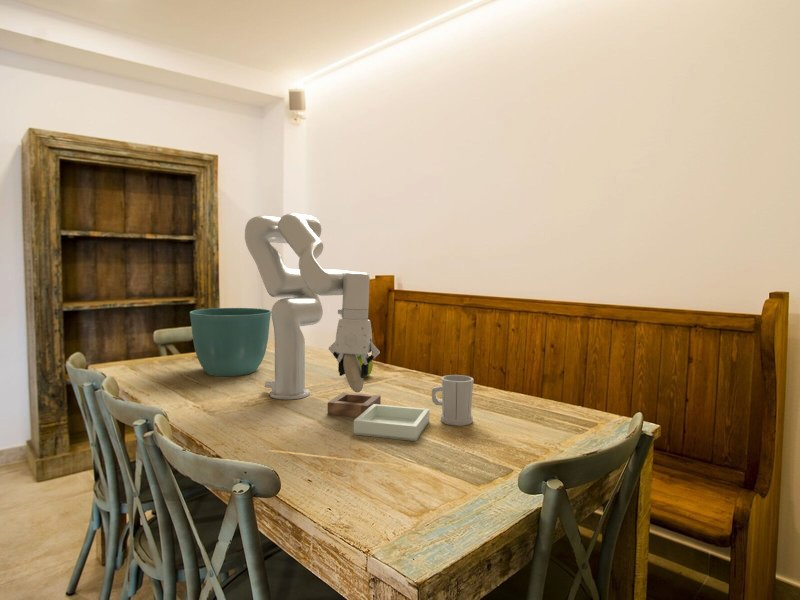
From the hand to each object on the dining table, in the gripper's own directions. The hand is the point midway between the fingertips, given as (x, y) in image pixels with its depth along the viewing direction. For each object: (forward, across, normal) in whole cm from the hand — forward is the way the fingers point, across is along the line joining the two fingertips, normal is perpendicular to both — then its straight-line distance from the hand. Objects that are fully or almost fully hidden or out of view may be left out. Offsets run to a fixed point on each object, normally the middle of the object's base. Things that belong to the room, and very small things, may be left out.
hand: (353, 375), depth 146 cm
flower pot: (+13, -63, +35) cm, 73 cm away
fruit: (+11, -12, +42) cm, 45 cm away
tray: (+10, +16, -12) cm, 22 cm away
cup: (+10, +30, -2) cm, 32 cm away
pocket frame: (+10, +1, 0) cm, 10 cm away
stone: (+5, 0, 0) cm, 5 cm away
